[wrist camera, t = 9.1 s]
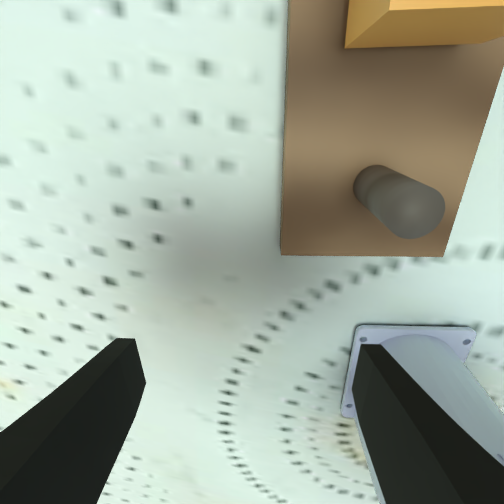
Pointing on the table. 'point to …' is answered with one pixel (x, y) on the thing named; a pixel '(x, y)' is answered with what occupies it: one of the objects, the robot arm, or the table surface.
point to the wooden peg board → (377, 137)
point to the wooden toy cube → (423, 22)
